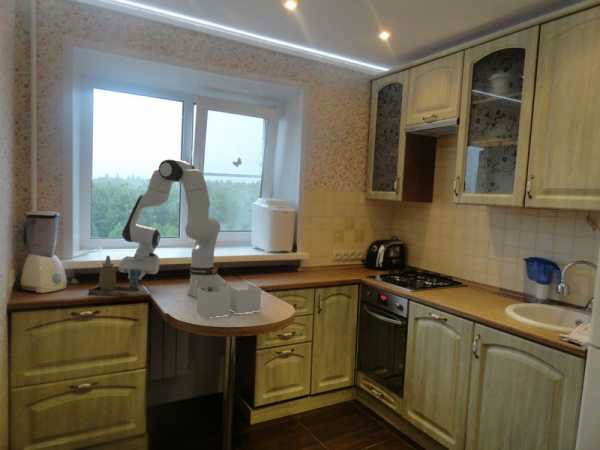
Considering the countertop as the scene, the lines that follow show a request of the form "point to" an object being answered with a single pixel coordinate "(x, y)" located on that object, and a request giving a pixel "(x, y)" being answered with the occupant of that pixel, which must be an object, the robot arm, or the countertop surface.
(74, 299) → the countertop surface
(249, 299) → the storage container
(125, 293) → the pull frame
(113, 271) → the squeeze bottle
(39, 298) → the countertop surface
